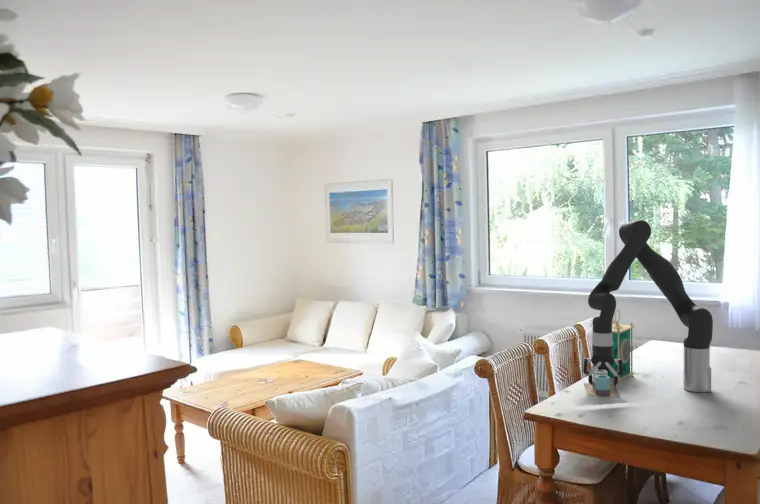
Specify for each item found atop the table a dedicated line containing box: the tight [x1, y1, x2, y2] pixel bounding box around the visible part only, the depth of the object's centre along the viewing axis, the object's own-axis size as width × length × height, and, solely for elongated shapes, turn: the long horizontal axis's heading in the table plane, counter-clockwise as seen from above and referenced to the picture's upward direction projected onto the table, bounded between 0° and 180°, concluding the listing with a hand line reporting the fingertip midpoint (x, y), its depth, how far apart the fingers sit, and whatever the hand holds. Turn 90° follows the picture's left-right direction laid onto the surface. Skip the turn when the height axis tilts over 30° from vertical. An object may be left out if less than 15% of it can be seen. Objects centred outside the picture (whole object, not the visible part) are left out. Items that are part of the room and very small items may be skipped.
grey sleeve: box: [592, 369, 607, 388], centre depth 240 cm, size 5×5×6 cm
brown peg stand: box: [583, 382, 621, 399], centre depth 235 cm, size 12×18×6 cm, turn 165°
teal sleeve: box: [595, 375, 611, 395], centre depth 231 cm, size 5×5×6 cm
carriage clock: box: [606, 309, 636, 382], centre depth 256 cm, size 17×9×30 cm, turn 137°
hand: (602, 385), depth 231 cm, fingers open, 8 cm apart
